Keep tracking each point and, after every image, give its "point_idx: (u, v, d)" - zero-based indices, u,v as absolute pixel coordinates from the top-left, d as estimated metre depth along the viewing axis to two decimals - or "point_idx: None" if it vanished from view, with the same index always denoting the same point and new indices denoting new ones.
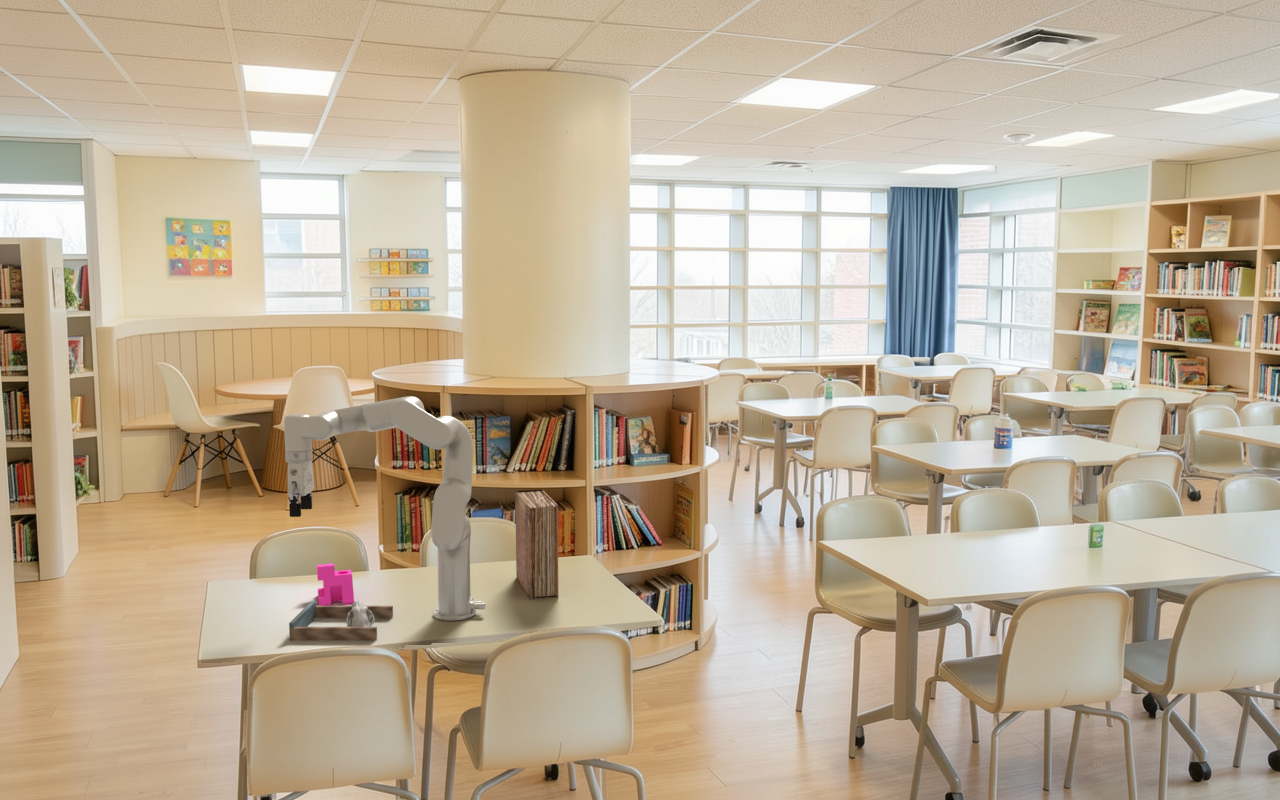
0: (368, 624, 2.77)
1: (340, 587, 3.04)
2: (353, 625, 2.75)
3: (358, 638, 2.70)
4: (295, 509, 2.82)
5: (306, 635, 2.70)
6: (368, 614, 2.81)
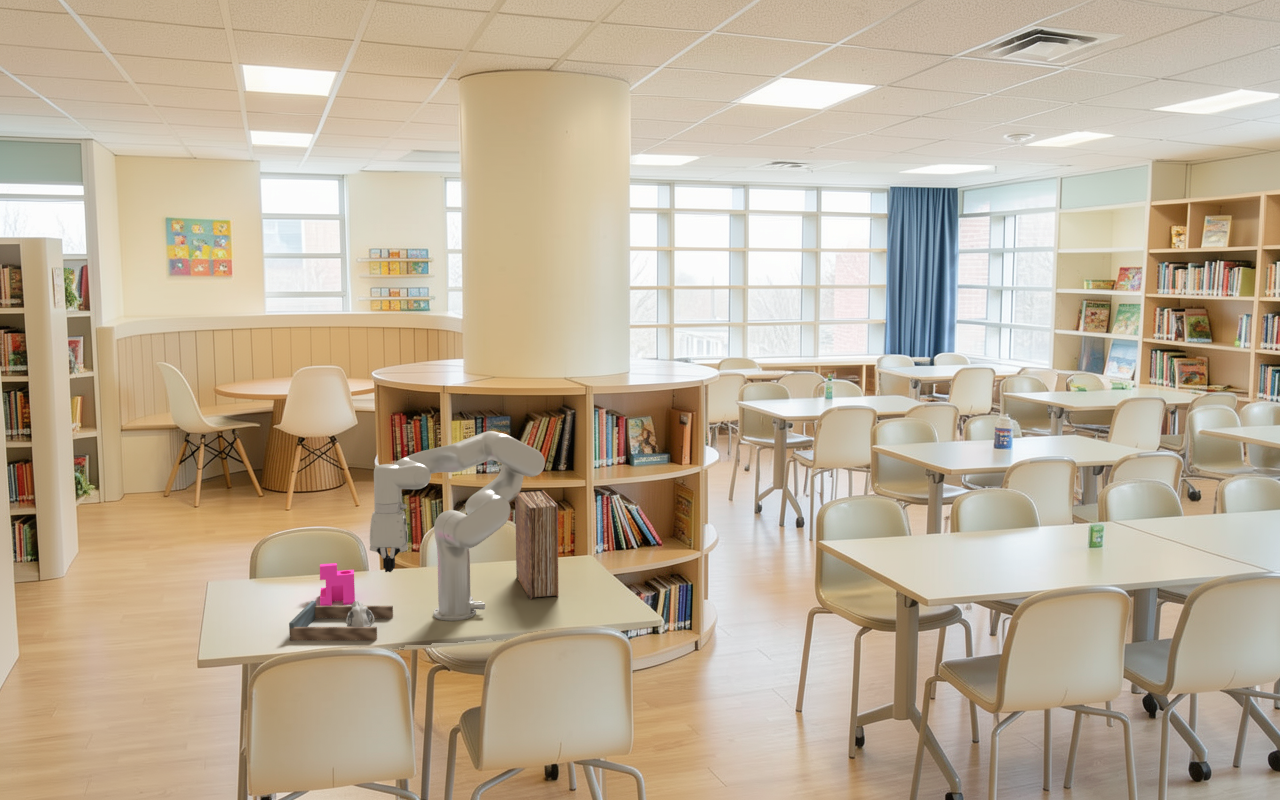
0: (368, 624, 2.77)
1: (342, 587, 3.04)
2: (353, 625, 2.75)
3: (358, 638, 2.70)
4: (394, 562, 2.78)
5: (306, 635, 2.70)
6: (368, 614, 2.81)
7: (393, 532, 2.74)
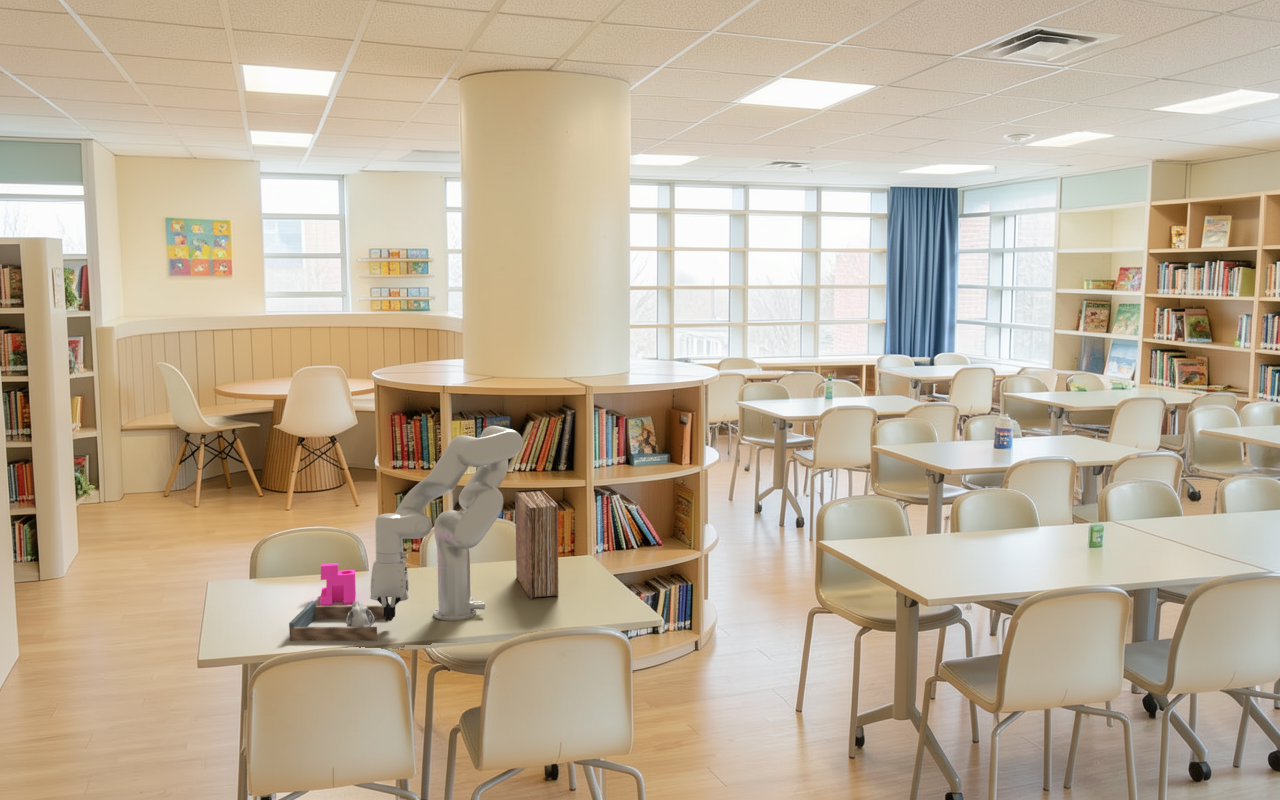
0: (368, 624, 2.77)
1: (342, 587, 3.04)
2: (353, 625, 2.75)
3: (358, 638, 2.70)
4: None
5: (306, 635, 2.70)
6: (368, 614, 2.81)
7: (394, 581, 2.76)
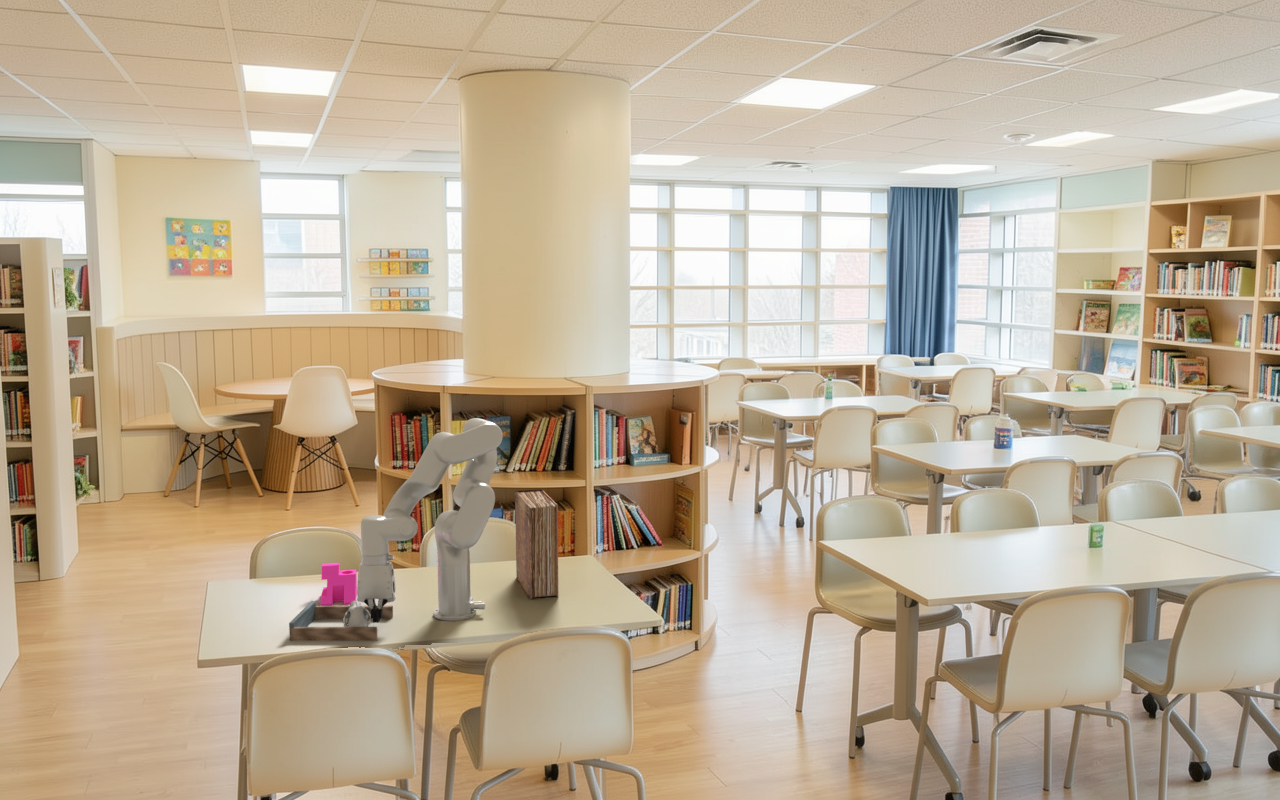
0: (365, 624, 2.77)
1: (343, 587, 3.04)
2: (349, 625, 2.75)
3: (358, 638, 2.70)
4: (382, 612, 2.80)
5: (306, 635, 2.70)
6: (365, 614, 2.81)
7: (380, 583, 2.76)
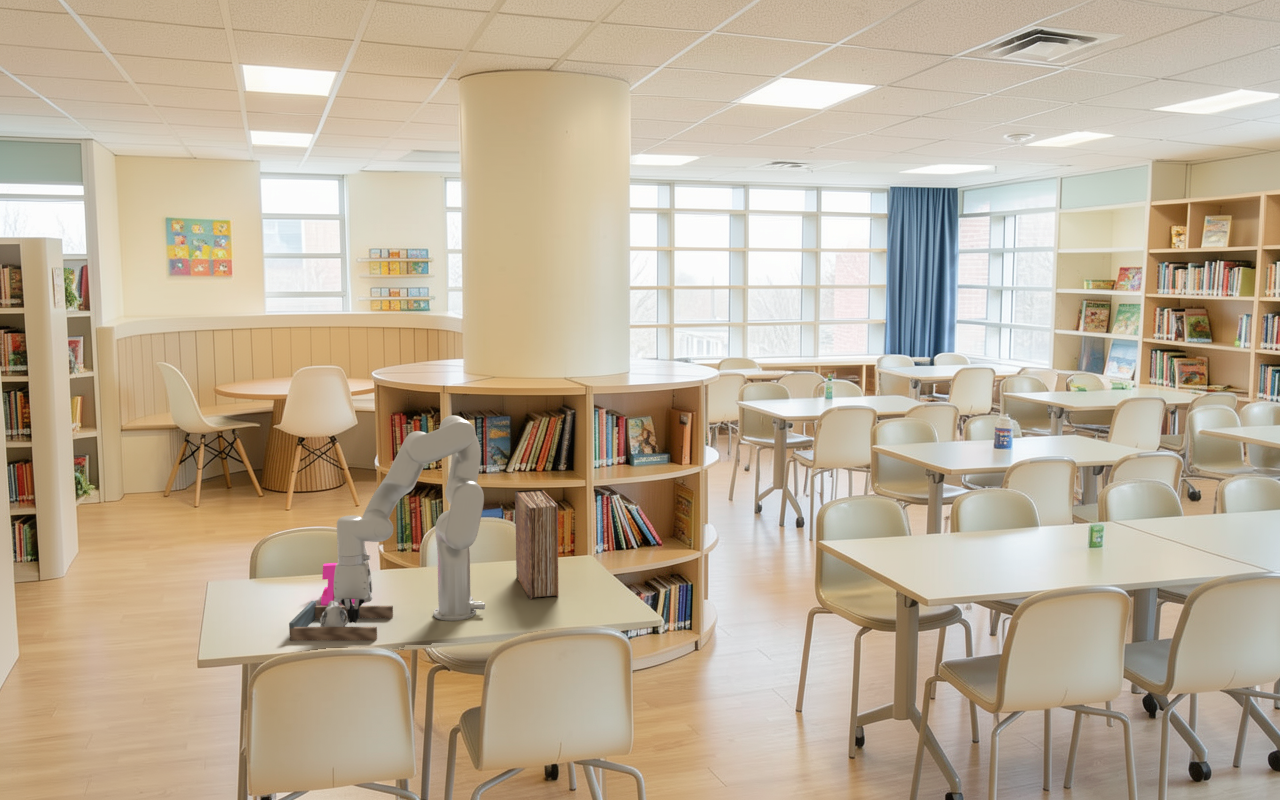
0: (341, 624, 2.76)
1: None
2: (326, 625, 2.75)
3: (358, 638, 2.70)
4: None
5: (306, 635, 2.70)
6: (343, 614, 2.81)
7: (357, 583, 2.76)
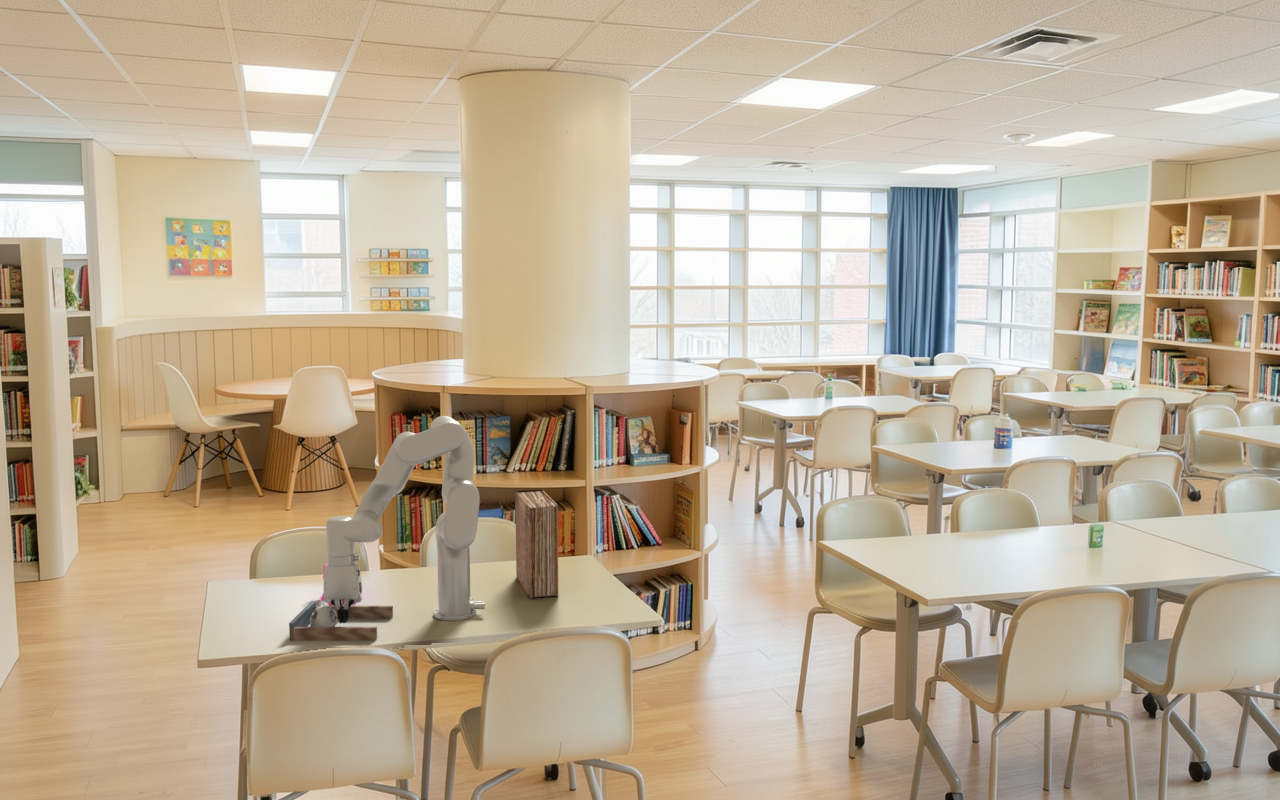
0: (331, 624, 2.76)
1: None
2: (315, 625, 2.75)
3: (358, 638, 2.70)
4: (349, 613, 2.80)
5: (306, 635, 2.70)
6: (333, 614, 2.81)
7: (346, 584, 2.76)
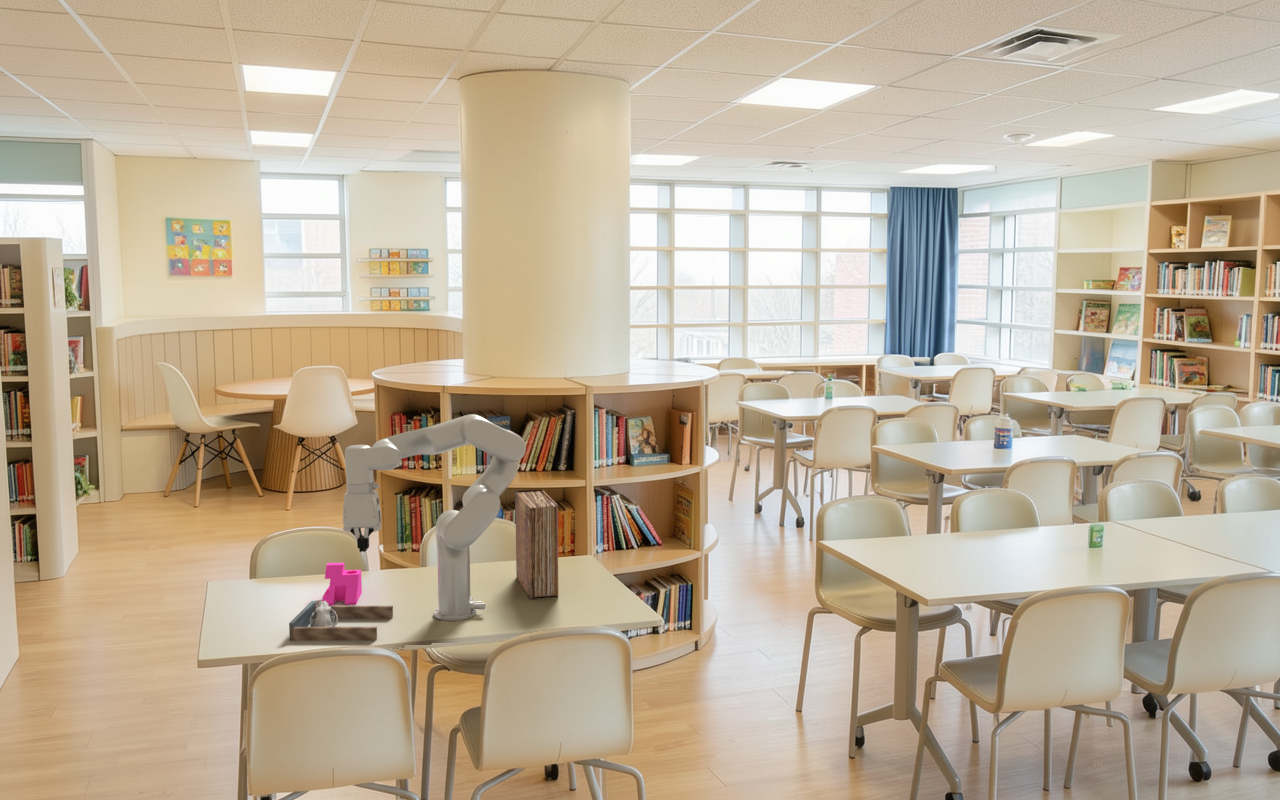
0: (331, 625, 2.76)
1: (345, 587, 3.04)
2: (315, 625, 2.75)
3: (358, 638, 2.70)
4: (368, 542, 2.80)
5: (306, 635, 2.70)
6: (332, 614, 2.81)
7: (366, 512, 2.76)
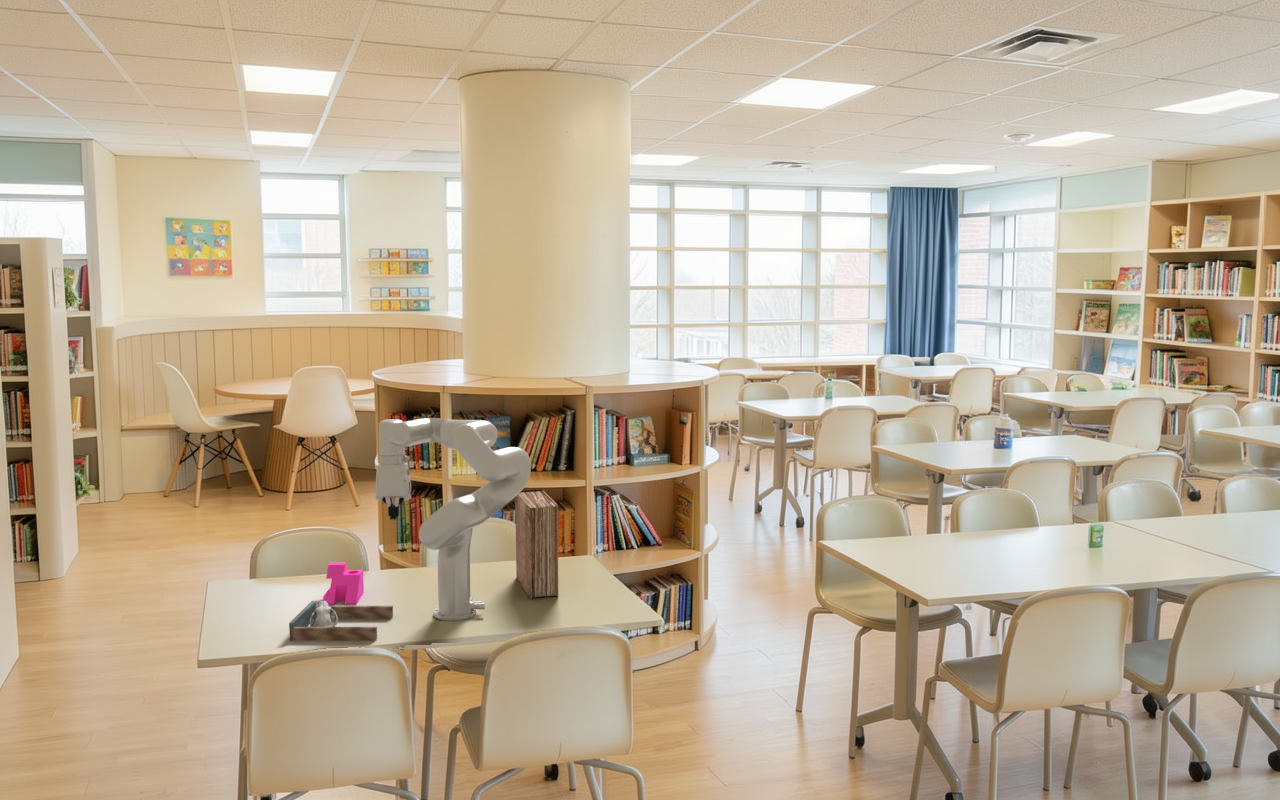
0: (331, 625, 2.76)
1: (346, 587, 3.04)
2: (315, 625, 2.75)
3: (358, 638, 2.70)
4: (398, 510, 2.99)
5: (306, 635, 2.70)
6: (332, 614, 2.81)
7: (397, 482, 2.95)
